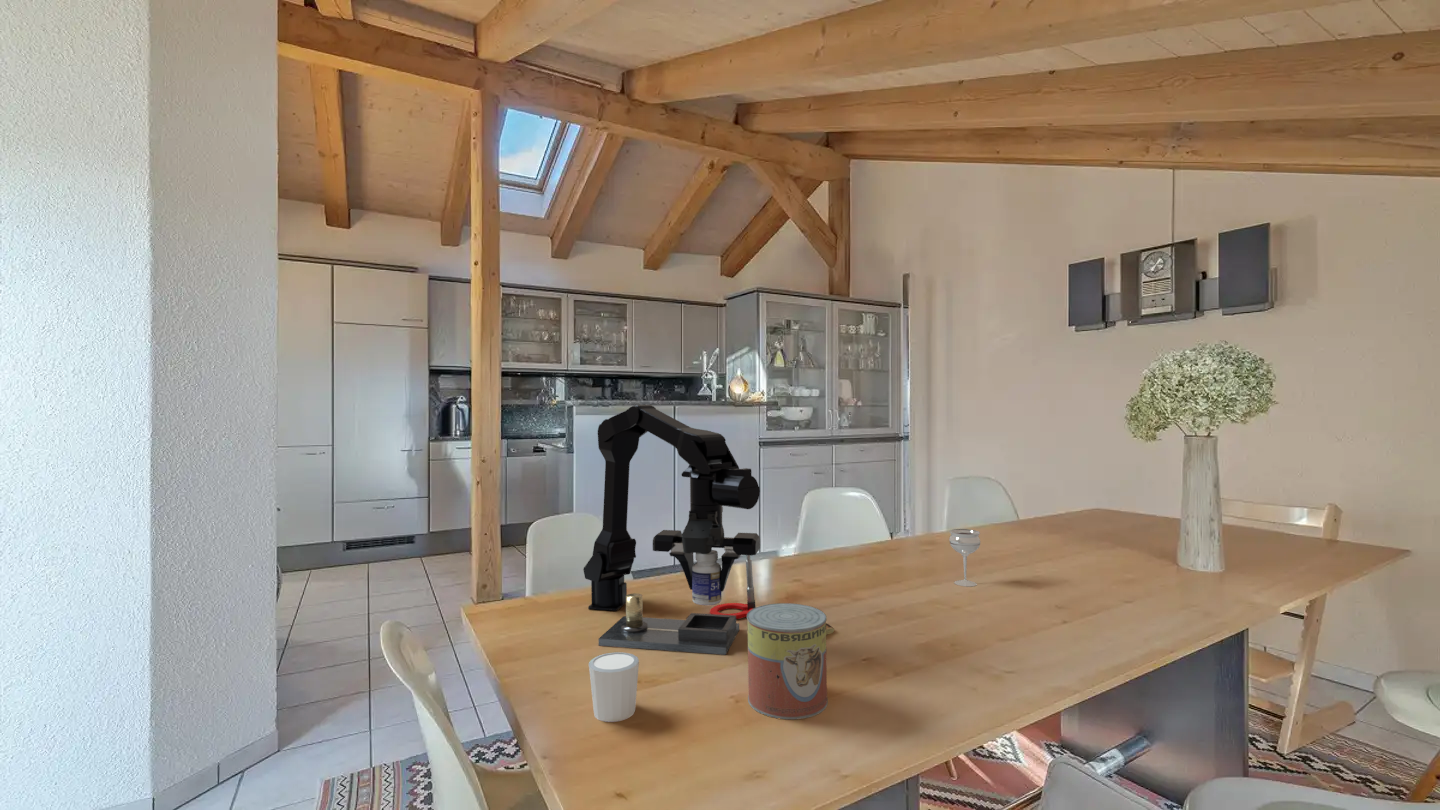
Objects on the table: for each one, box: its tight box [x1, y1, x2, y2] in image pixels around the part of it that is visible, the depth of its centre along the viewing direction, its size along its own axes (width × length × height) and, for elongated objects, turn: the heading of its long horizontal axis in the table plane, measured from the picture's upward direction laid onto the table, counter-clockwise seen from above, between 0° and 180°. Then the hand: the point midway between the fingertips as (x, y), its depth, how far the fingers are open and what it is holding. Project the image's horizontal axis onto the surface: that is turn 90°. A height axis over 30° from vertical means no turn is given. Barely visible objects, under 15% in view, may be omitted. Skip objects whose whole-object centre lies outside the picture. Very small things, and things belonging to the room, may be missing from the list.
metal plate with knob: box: [598, 592, 740, 656], centre depth 114 cm, size 23×12×7 cm, turn 77°
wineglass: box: [948, 528, 981, 587], centre depth 145 cm, size 7×7×12 cm
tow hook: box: [709, 555, 757, 620], centre depth 126 cm, size 8×13×9 cm
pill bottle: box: [691, 549, 723, 606], centre depth 112 cm, size 5×5×9 cm
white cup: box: [588, 651, 640, 723], centre depth 86 cm, size 7×7×7 cm
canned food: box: [746, 602, 829, 720], centre depth 89 cm, size 11×11×12 cm
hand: (707, 590), depth 112 cm, fingers closed on pill bottle, 5 cm apart
